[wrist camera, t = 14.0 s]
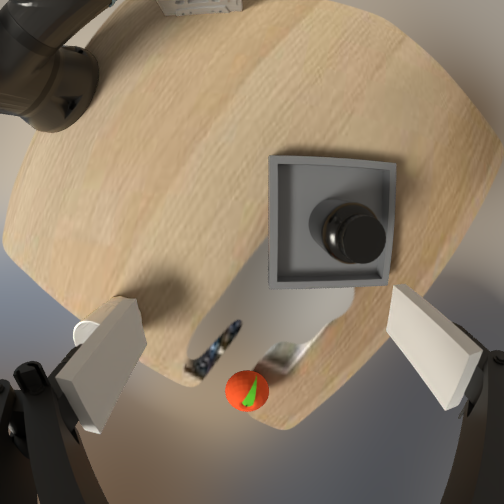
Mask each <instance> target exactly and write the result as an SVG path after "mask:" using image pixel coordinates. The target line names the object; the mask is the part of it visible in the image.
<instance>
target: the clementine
mask: <svg viewBox="0 0 504 504" xmlns="http://www.w3.org/2000/svg"><path fill="white" fill-rule="evenodd" d="M225 393H226V398H227V400H228V401H229V403H230V404H231V405H232V406H233V407H234V408H236V409H238V410H240V411H245V412H249V411H254V410H257V409H259V408H260V407H261V406H263V405H264V403H265V402H266V401H267V399H268V396H269V387H268V384H267V381H266V380H265V379H264V378H263V376H262V375H260V374H259V373H257V372H254V371H249V370H247V371H240V372H237V373H235V374H234V375H233V376H232V377H231V378H230V379H229V380H228V382H227V384H226V389H225Z"/></svg>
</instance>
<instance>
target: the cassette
mask: <svg viewBox="0 0 504 504" xmlns="http://www.w3.org/2000/svg"><path fill="white" fill-rule="evenodd" d="M156 2H157V3H158V5H159V7H160V8H161V10H162V12H163V13H164V15H165V16H170V15H176V16H183V15H194V14H210V13H229V12H230V11H242V9H243V4H242V0H156Z"/></svg>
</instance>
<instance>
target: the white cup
mask: <svg viewBox="0 0 504 504" xmlns="http://www.w3.org/2000/svg"><path fill="white" fill-rule="evenodd" d="M123 299H128V298H125V297H122V296H117V297H113V298H111V299H110V300H108V301H107V302H106V303H104V304H102V305H101V306H99V307H98V308H97V309H95V310H94V311H93V312H92V313H90V314H89V315H88V316H87V317H85V318H84V319H83V320H82V321H80V322H79V323H78V324H77V325H76V326H75V328H74V331H73V339H74V343H75V346H78V345H79V344H83V343H84V342H85V341H86V340H87V339H88V337H89V336H90V335H91V334H92V333H93V332H94V331H95V329H96V328H97V327H98V326H99V325H100V324H101V323H102V322H103V320H104V319H105V318H106V317H107V316H108V315H109V314H110V313H111V312H112V310H113V309H114V308H115V307H116V306H117V305H118V304H119V303H120V302H121V301H122V300H123ZM139 313H140V317H141V312H140V310H139ZM141 322H142V317H141Z"/></svg>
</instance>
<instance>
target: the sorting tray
mask: <svg viewBox="0 0 504 504" xmlns="http://www.w3.org/2000/svg"><path fill="white" fill-rule="evenodd" d="M327 199H342V200H347V201H353V202H358V203H361V204H363V205H365V206H367V207H368V208H370V209H371V210H372V211H373V212H374V214H375V215H376V217H377V219H378V221H380V223H381V224H382V225H383V228H384V229H385V232H386V244H385V248H384V249H383V252H382V253H381V255H380V256H379V257H378V258H377V259H375V260H374V261H372V262H371V263H367V264H359V263H357V264H344V263H340V262H338V261H336V260H335V259H333V258H332V257H331V256H330V255H329V254H328V253H327V252H325V251H324V250H323V249H322V248H321V247H320V246H319V245H318V244H317V243H316V242H315V241H314V240H313V238H312V236H311V234H310V231H309V225H308V223H309V217H310V214H311V212H312V210H313V209H314V207H315V206H316V205H317V204H319V203H320V202H322V201H324V200H327ZM395 201H396V163H389V162H380V161H370V160H359V159H347V158H332V157H312V156H274V155H269V157H268V239H269V240H268V283H269V289H312V288H342V287H366V286H385V285H388V278H389V271H390V263H391V254H392V245H393V233H394V220H395Z"/></svg>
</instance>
